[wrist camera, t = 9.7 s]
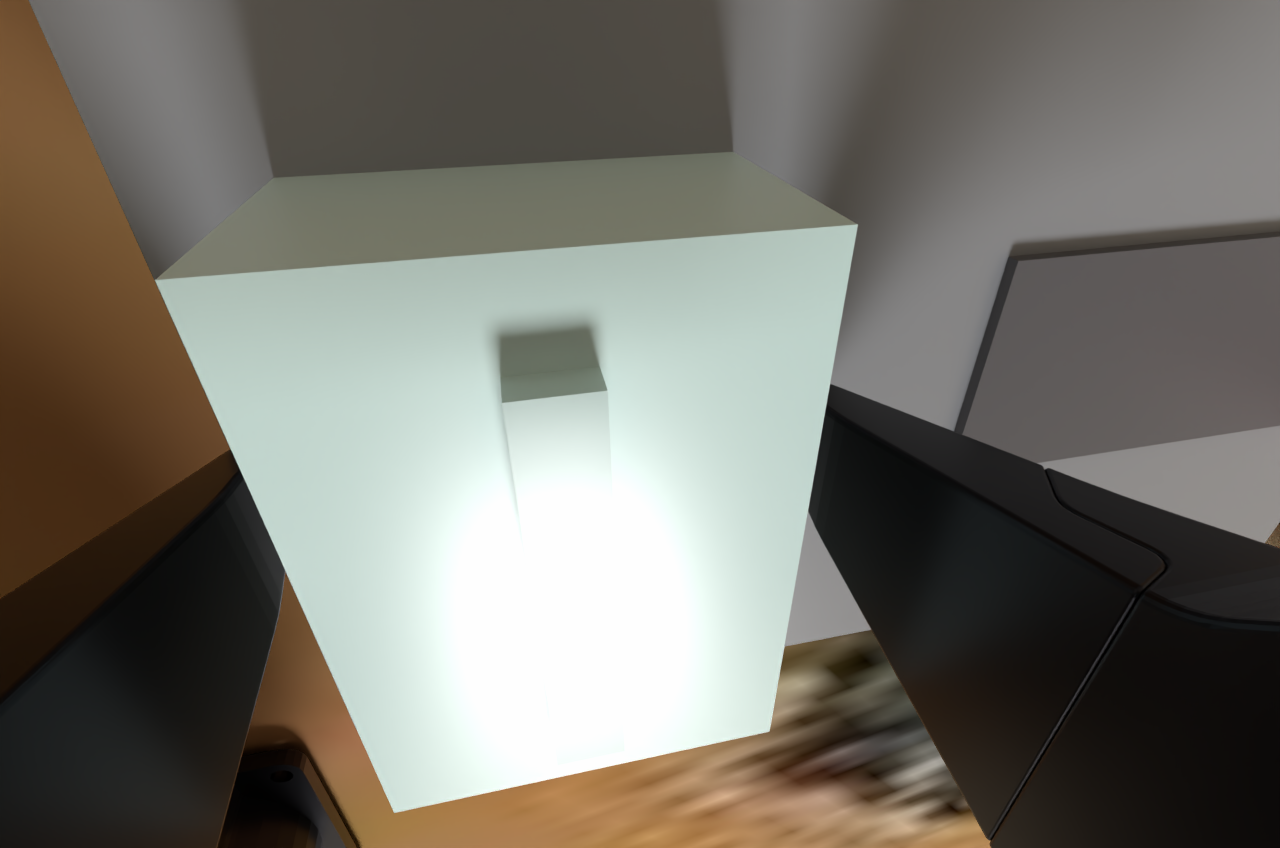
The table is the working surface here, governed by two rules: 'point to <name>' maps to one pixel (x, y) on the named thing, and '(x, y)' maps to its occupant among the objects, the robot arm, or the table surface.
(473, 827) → the table surface
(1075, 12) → the housing
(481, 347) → the cover
